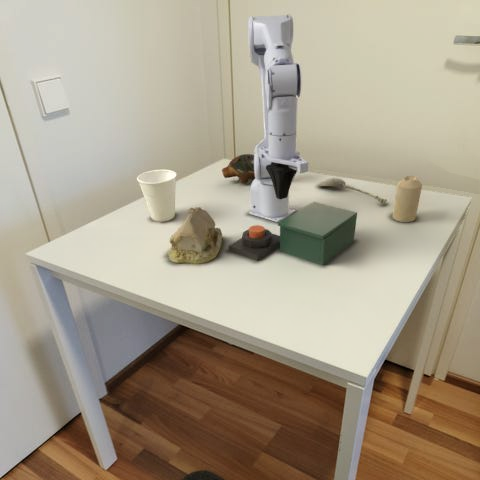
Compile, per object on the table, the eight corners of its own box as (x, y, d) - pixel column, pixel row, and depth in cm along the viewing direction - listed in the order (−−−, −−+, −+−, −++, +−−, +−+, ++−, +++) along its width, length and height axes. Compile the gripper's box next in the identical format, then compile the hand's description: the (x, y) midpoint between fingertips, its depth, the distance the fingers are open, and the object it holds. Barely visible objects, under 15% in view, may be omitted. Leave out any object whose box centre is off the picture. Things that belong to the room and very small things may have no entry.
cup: (137, 222, 117) (129, 180, 110) (156, 208, 124) (150, 167, 117) (170, 227, 113) (164, 184, 107) (188, 212, 121) (183, 171, 114)
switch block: (229, 251, 102) (228, 238, 100) (257, 234, 108) (257, 221, 106) (256, 261, 98) (256, 248, 96) (284, 242, 104) (284, 230, 102)
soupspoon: (330, 183, 135) (314, 190, 132) (330, 172, 133) (314, 179, 130) (392, 201, 120) (376, 209, 117) (393, 189, 118) (377, 197, 115)
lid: (322, 239, 91) (322, 235, 90) (277, 225, 96) (277, 222, 96) (356, 215, 99) (357, 212, 99) (313, 204, 105) (314, 201, 105)
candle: (416, 222, 109) (424, 182, 103) (392, 221, 110) (399, 181, 104) (414, 213, 114) (422, 174, 108) (391, 212, 115) (398, 173, 109)
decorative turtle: (276, 183, 135) (275, 156, 129) (226, 191, 133) (223, 165, 128) (268, 170, 142) (267, 145, 137) (221, 179, 141) (218, 153, 136)
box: (322, 265, 95) (324, 238, 91) (279, 251, 101) (279, 225, 97) (353, 241, 103) (356, 215, 99) (312, 229, 109) (313, 204, 105)
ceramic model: (208, 268, 96) (203, 224, 90) (161, 261, 99) (154, 219, 93) (230, 238, 107) (227, 198, 101) (187, 233, 110) (182, 194, 104)
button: (245, 236, 101) (245, 229, 100) (255, 230, 103) (255, 223, 102) (258, 241, 99) (258, 233, 98) (268, 234, 101) (268, 227, 100)
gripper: (321, 135, 87) (317, 203, 95) (277, 122, 98) (276, 184, 106) (292, 142, 85) (291, 211, 93) (250, 128, 95) (251, 191, 103)
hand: (281, 197), depth 99 cm, fingers closed
